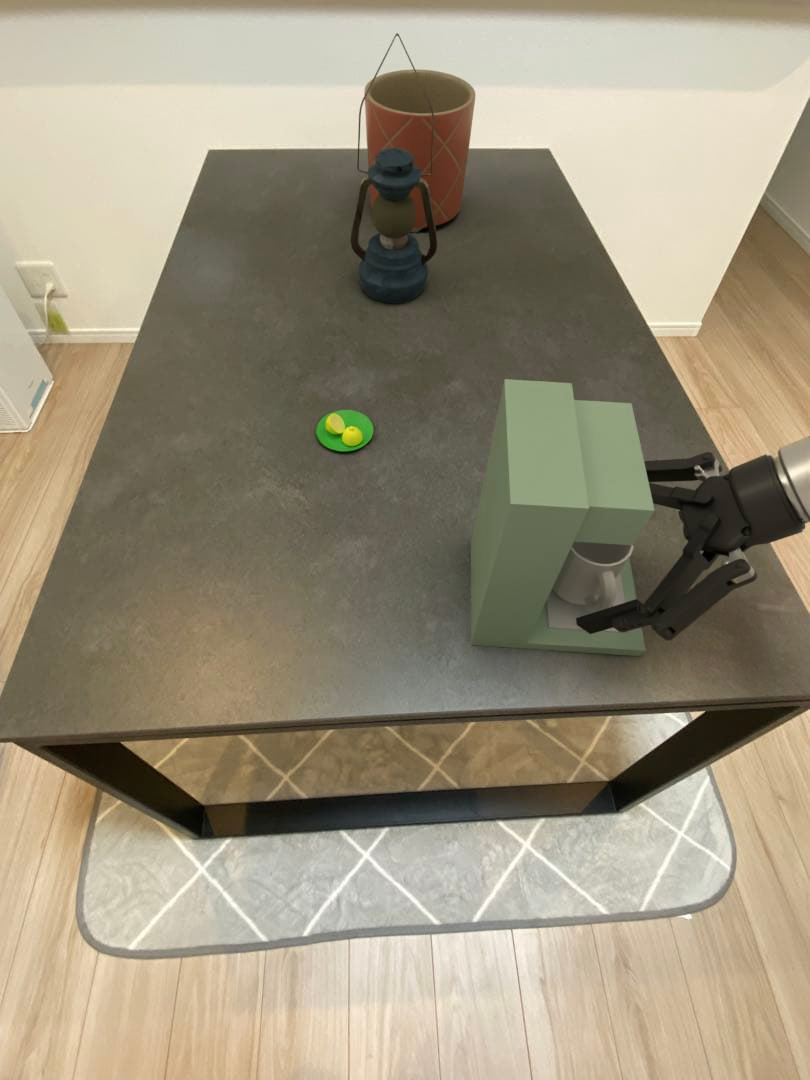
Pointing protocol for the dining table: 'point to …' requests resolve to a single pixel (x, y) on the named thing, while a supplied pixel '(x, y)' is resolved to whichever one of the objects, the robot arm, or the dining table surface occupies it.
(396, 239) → the lantern
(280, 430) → the dining table surface
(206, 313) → the dining table surface
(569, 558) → the cup
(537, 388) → the coffee maker
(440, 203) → the planter
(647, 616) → the robot arm
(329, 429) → the plate with lemons
